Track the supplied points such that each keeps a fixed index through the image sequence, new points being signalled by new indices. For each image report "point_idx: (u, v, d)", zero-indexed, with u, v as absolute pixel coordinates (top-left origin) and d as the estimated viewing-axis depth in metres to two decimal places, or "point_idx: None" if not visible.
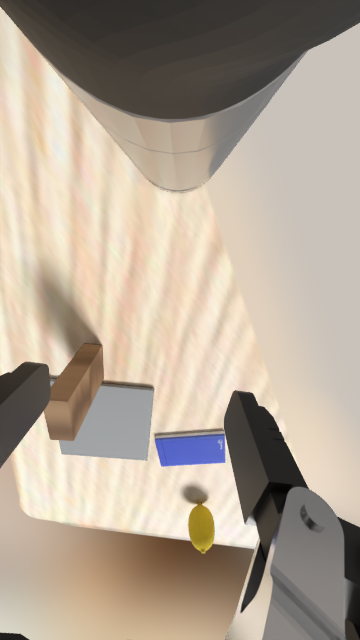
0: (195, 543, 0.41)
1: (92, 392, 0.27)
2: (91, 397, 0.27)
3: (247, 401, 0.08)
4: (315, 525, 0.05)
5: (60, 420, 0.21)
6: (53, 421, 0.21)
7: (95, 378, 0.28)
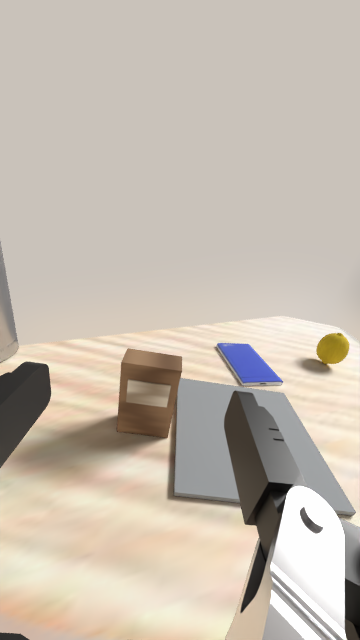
0: (340, 340, 0.44)
1: None
2: None
3: (247, 401, 0.08)
4: (315, 525, 0.05)
5: (151, 357, 0.22)
6: (153, 362, 0.21)
7: None
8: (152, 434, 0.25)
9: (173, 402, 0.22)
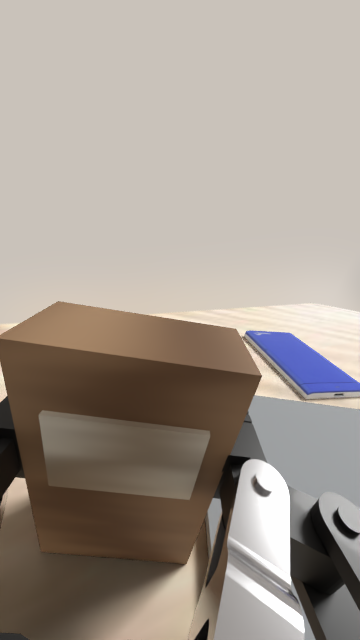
0: None
1: None
2: None
3: None
4: (263, 490, 0.05)
5: (135, 326, 0.06)
6: (140, 341, 0.05)
7: None
8: (144, 557, 0.09)
9: (213, 483, 0.07)
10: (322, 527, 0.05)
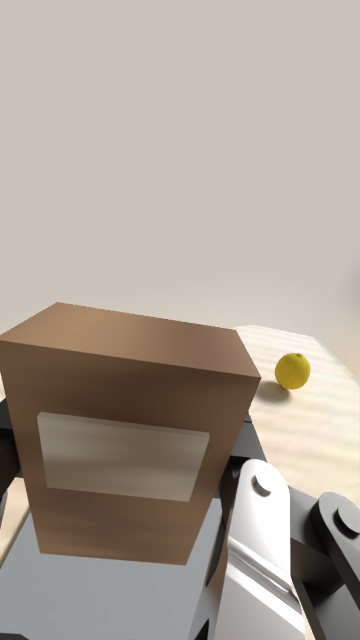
0: (298, 363, 0.36)
1: None
2: None
3: None
4: (263, 490, 0.05)
5: (134, 327, 0.06)
6: (139, 342, 0.05)
7: None
8: (143, 559, 0.09)
9: (212, 485, 0.07)
10: (322, 527, 0.05)
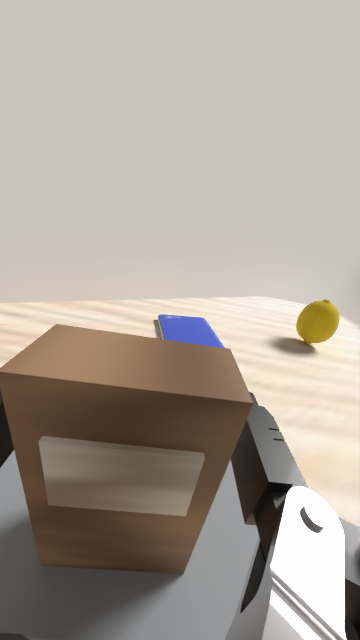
0: (326, 308, 0.31)
1: None
2: None
3: None
4: (315, 525, 0.05)
5: (132, 351, 0.06)
6: (137, 368, 0.06)
7: None
8: (142, 569, 0.09)
9: (208, 500, 0.07)
10: None
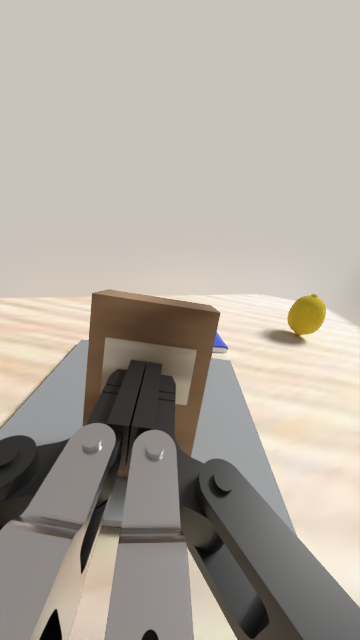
0: (314, 302, 0.35)
1: None
2: None
3: (152, 369, 0.09)
4: (150, 455, 0.05)
5: (154, 298, 0.11)
6: (159, 301, 0.10)
7: None
8: None
9: (200, 392, 0.11)
10: (204, 502, 0.05)
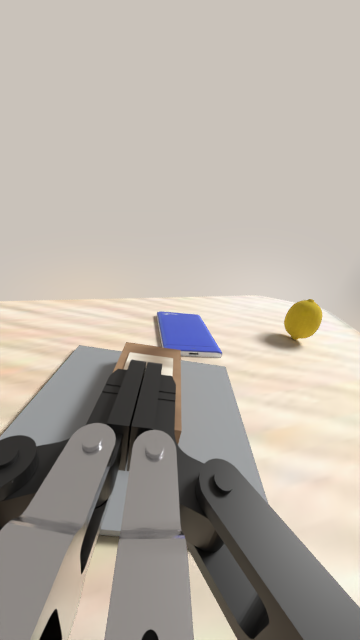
0: (310, 307, 0.35)
1: None
2: None
3: (152, 369, 0.09)
4: (150, 455, 0.05)
5: None
6: None
7: None
8: None
9: (179, 374, 0.19)
10: (204, 502, 0.05)
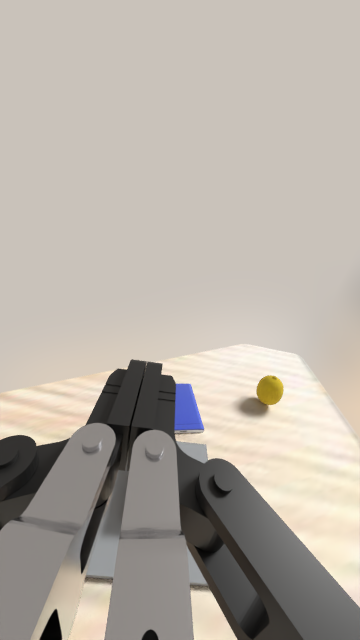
0: (273, 384, 0.46)
1: None
2: None
3: (152, 369, 0.09)
4: (150, 455, 0.05)
5: None
6: None
7: None
8: None
9: None
10: (204, 502, 0.05)
